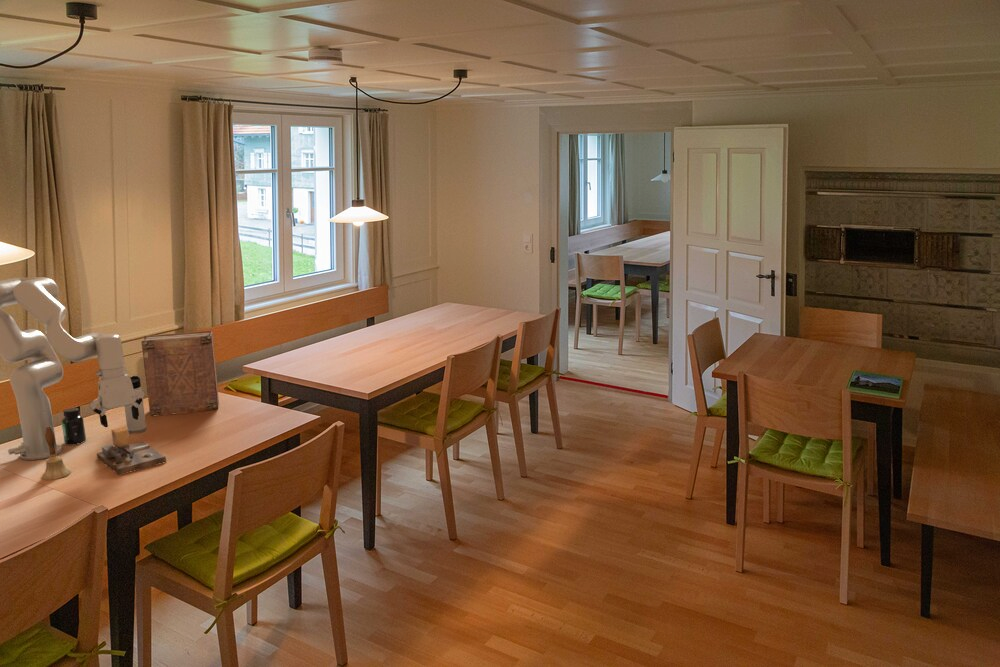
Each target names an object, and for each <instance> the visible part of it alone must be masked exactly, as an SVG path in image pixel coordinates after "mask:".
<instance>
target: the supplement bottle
mask: <svg viewBox="0 0 1000 667" xmlns="http://www.w3.org/2000/svg"><path fill="white" fill-rule="evenodd" d="M62 412H63V417H62V419H61V428H62V434H63V442H64V444H65V445H67V444H76V445H78V444H77V443H80V444H82V443H81V442H83V441H85V442H86V440H87V435H86V428H85V423H84V417H83V416H82V415H80V410H79V408H78V407H70V408H69V407H68V408H66V409H64V410H63V411H62ZM83 443H84V442H83Z"/></svg>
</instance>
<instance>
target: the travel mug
mask: <svg viewBox="0 0 1000 667" xmlns="http://www.w3.org/2000/svg"><path fill="white" fill-rule="evenodd" d="M130 379H131V382H132V385H133V389H134V390H137V391H141V392H143V390H142V384H141V378H140V377H139V376H138V375H133V376H130ZM138 396H139V395H137V394H135V399H136V400H137V398H138ZM143 399H144V398H143ZM143 399H142V402H141V403H140V405H139V407H138V411H139V416H138V420H136V419H134V418H133V416H132V409H131V407H132V405H131V404H130V405H126V406H124V412H125V413H124V414H125V421H126V429H128V431H129V434H132V433H135V434H140V432H141V433H143V431H144V432H146V431H147V424H146V416H145V407H144V400H143ZM136 400H135V401H136Z"/></svg>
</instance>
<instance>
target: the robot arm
mask: <svg viewBox="0 0 1000 667" xmlns="http://www.w3.org/2000/svg"><path fill="white" fill-rule="evenodd" d="M59 295H60V289H59V286H58V285H57V283H56V282H55V281H54V280H53V279H51V278H49V277H45V276H39V277H37V276H36V277H35V276H33V277H13V278H7V279H3V280H0V356H1V357H2V359H3V361H4V362H7V363H10V364H16V363H21V362H23V361H26V360H29V359H30V360H31V361H30V362H27V363H24V364H21V365H19V366H17V367H16V368H14V370H13V371H12V372H11V373H10V377H9V383H10V387H11V389H12V391H13V394H14V397H15V400H16V406H17V411H18V416H19V423H20V429H21V435H22V442H20V445H18V446H17V447H12V448H11V447H10V448H8V449H7V452H8V455H16V456H17V455H19V457H20V459H22V460H26V461H35V460H43V459H49V458H50V450H49V446H48V444H47V441H46V438H45V433H46V428H47V427H51V429H52V431H53V432H54V435H55V436H56V433H55V428H54V420H53V413H52V407H51V406H52V405H51V402H50V398H49V397H48V395H47V394H46V393H45V392H44V388H47V387H49V386H53V385H54V384H57V383H59V382H60V381H61V380H62V379H63V378H64V377H63V376H64V367H63V364H62V363H61V360H60V358H59V357H58V355H57V353H58V354H60V355H61V356H62V357H63V358H64V359H66V360H68V361H70V362H74V363H77V362H78V363H79V362H82V361H85V360H87V359H88V360H89V359H90V358H94V357H97V362H98V371H96V372H94V373H95V374H94V375H95V376H96V377H99V378H98V385H97V386H98V387H97V391H98V396H97V397H96V398H95V399H94V400H92V401H91V402H89V403H88V407H89V408H90V409H91V410H92V412H94V413H96V414H97V415H98V416H99V421H100V425H101V426H103V427H105V428H108V426H109V425H108V424H109V423H108V418H107V415H106V412H107V411H108V410H113V409H117V408H121V407H125V406H126V405H130V404H131V405H132V407H131V409H132V416H133V418H134V419H136V420H138V416H139V411H138V407H139V405H140V403H141V402H142V399H144V396H145V392H144V391H142V392H141V391H137V390H134V389H133V385H132V382H131V379H130V377H131V376H130V374H129V373H127V372H126V366H125V358H124V352H123V345H122V339H121V337H120V335H119V334H115V333H110V334H108V333H106V334H103V333H101V332H100V333H99V332H90V333H87V334H83V335H80V336H77V337H72V336H71V335H70V334H69V333H68V332H67V331H66V330H65V329H64V328H63V326H62V324H61V323H62V322H63V321H64V319H65V318H66V316H67V314H68V311H67V308H66V307H65V306H64V305H63V304H61V302H60V301H58V300H57V299H58V297H59ZM16 304H19V305H20V306H21V307H22V308H23V309H24V310H26V311H27V313H29V314H30V315H31V316H33V317H34V318H35V319H36V320H37V321H38V322H39V323H40V324H42V325H43V327H44V329H45V330H44V331H45V334H44V333H43V332H41V331H40V330H39V329H35V328H29V329H25V330H21V329H20V327H19V326H18V324H17V322H16V320H15V319H14V318H13V317H12V315H10V314H9V313H8V312H6V311H5V310H3V309H2V308H4V307H9V306H13V305H16ZM55 351H56V352H57V353H56V352H55ZM135 394H137V395H139V396H138V398H137V400H136V399H135ZM135 400H136V401H135ZM98 404H99V405H100V407H99V409H98V408H97V407H96V406H97V405H98ZM56 440H57V439H56V438H55V444H54V446H55V452H56V454H57V455H59V454H60V453H61V452H63V447H62V445H60V444H58V443H57V441H56Z"/></svg>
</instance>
